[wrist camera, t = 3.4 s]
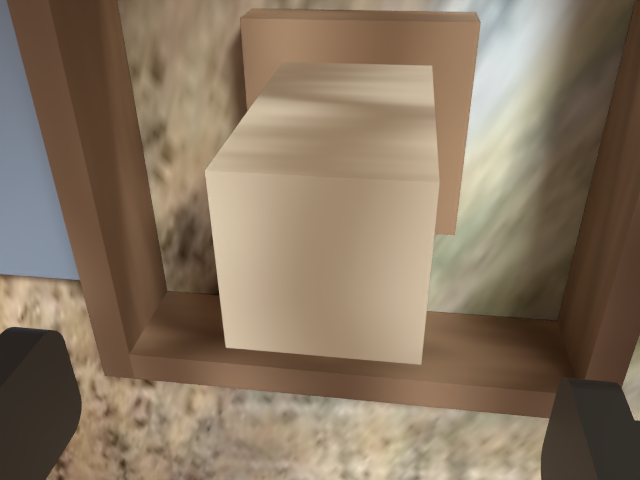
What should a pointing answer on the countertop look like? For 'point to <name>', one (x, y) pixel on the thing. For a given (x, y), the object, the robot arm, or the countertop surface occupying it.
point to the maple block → (329, 213)
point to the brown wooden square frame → (451, 128)
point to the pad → (26, 177)
